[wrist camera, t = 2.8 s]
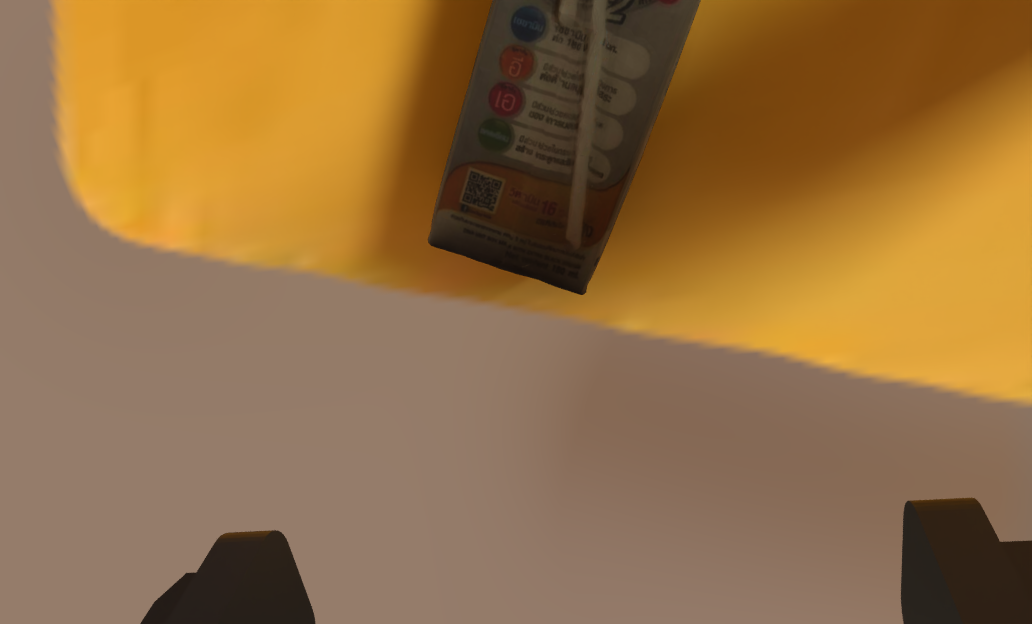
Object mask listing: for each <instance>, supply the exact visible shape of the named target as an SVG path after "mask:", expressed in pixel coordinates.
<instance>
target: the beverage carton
mask: <svg viewBox="0 0 1032 624" xmlns="http://www.w3.org/2000/svg"><path fill="white" fill-rule="evenodd" d="M700 1H701V0H493V1H492V5H491V8H490V12H489V15H488V19H487V22H486V26H485V29H484V32H483V36H482V39H481V42H480V46H479V50H478V53H477V57H476V61H475V65H474V68H473V72H472V75H471V79H470V82H469V86H468V89H467V92H466V96H465V99H464V103H463V106H462V110H461V114H460V117H459V121H458V124H457V127H456V131H455V135H454V139H453V143H452V146H451V150H450V153H449V156H448V159H447V163H446V167H445V171H444V174H443V178H442V182H441V186H440V190H439V194H438V197H437V200H436V205H435V210H434V214H433V219H432V226H431V232H430V235H429V237H428V243H429V244H430V245H431V246H434V247H436V248H440V249H444V250H447V251H449V252H453V253H456V254H460V255H463V256H466V257H468V258H471V259H474V260H476V261H479V262H482V263H486V264H489V265H491V266H494V267H496V268H499V269H502V270H506V271H509V272H512V273H515V274H519V275H523V276H527V277H530V278H534V279H538V280H541V281H543V282H545V283H548V284H550V285H553V286H555V287H558V288H561V289H564V290H568V291H571V292H574V293H577V294H580V295H583V294H585V293H586V289H587V285H588V283H589V281H590V279H591V277H592V275H593V273H594V271H595V269H596V266H597V264H598V262H599V260H600V258H601V255H602V253H603V250H604V248H605V246H606V243H607V241H608V239H609V236H610V234H611V231H612V229H613V226H614V224H615V221H616V219H617V216H618V214H619V211H620V209H621V207H622V204H623V202H624V199H625V197H626V195H627V192H628V190H629V187H630V185H631V182H632V180H633V177H634V175H635V172H636V170H637V167H638V165H639V162H640V160H641V157H642V155H643V152H644V150H645V147H646V144H647V142H648V139H649V136H650V133H651V131H652V128H653V126H654V123H655V121H656V118H657V115H658V113H659V110H660V108H661V105H662V103H663V100H664V97H665V95H666V92H667V90H668V87H669V84H670V82H671V79H672V76H673V74H674V71H675V69H676V66H677V63H678V61H679V58H680V55H681V52H682V50H683V47H684V44H685V41H686V39H687V36H688V33H689V31H690V28H691V25H692V22H693V20H694V17H695V14H696V11H697V9H698V6H699V3H700Z"/></svg>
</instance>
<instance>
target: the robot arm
mask: <svg viewBox="0 0 1032 624" xmlns="http://www.w3.org/2000/svg"><path fill="white" fill-rule="evenodd" d="M901 606H902V614H903V621H904V624H1032V541H1014V542H1013V541H1012V542H1000V541H999V539H998V537H997V535H996V533H995V531H994V529H993V527H992V525H991V524H990V522H989V520H988V518H987V516H986V514H985V512H984V510H983V508H982V507H981V505H980V503H979V502H978V501H977V500H976V499H975V498H956V499H936V500H916V501H907V502H906V504H905V507H904V516H903V546H902V577H901ZM141 624H315V617H314V613H313V609H312V606H311V604H310V601H309V598H308V596H307V593H306V590H305V587H304V585H303V582H302V579H301V577H300V574H299V571H298V569H297V566H296V563H295V560H294V558H293V555H292V552H291V549H290V547H289V544H288V542H287V539H286V538H285V536H284V535H283V534H282V533H281V532H279V531H276V530H275V531H255V532H235V533H225V534H223V535H221V536H220V537H219V538H218V539H217V541H216V542H215V544H214V545H213V547H212V548H211V550H210V551H209V553H208V555H207V556H206V558H205V560H204V561H203V563H202V565H201V566H200V568H199V569H198V571H197V573H186V574H185V575H184V576H183V577H182V578H181V579H179V580H178V581H177V582H176V583H175V584H174V585H173V586H172V587H171V588H170V589H169V590H167V591H166V592H165V593H164V594H163V595H162V596H161V597H160V598H158V599H157V600H156V601H155V602H154V604H153V605H152V607H151V608H150V610H149V611H148V613H147V614H146V616H145V617H144V619H143V620H142V622H141Z"/></svg>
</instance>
